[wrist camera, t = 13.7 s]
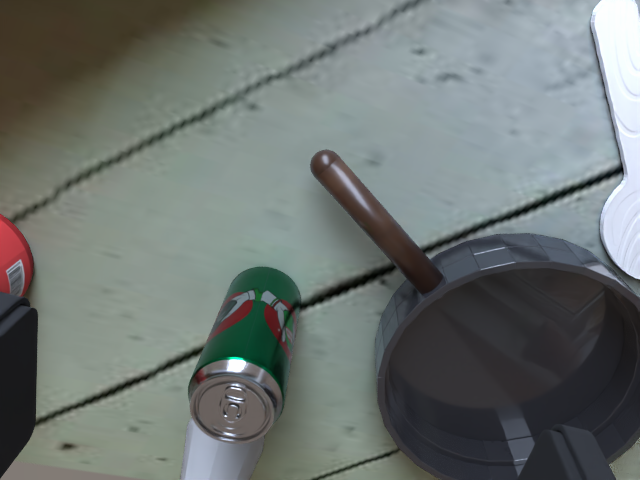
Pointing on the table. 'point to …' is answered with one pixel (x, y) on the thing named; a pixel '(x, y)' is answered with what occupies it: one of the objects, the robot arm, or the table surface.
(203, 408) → the soda can
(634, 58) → the spoon
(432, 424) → the pan
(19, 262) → the canned food
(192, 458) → the salt shaker
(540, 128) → the table surface
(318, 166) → the pan handle
